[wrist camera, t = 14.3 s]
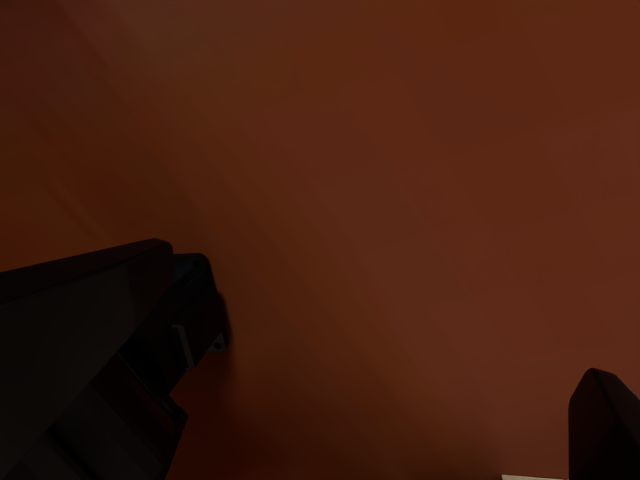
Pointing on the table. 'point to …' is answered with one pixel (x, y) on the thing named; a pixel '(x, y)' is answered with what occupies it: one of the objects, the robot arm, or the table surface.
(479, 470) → the table surface
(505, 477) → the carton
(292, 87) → the table surface
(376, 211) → the table surface
